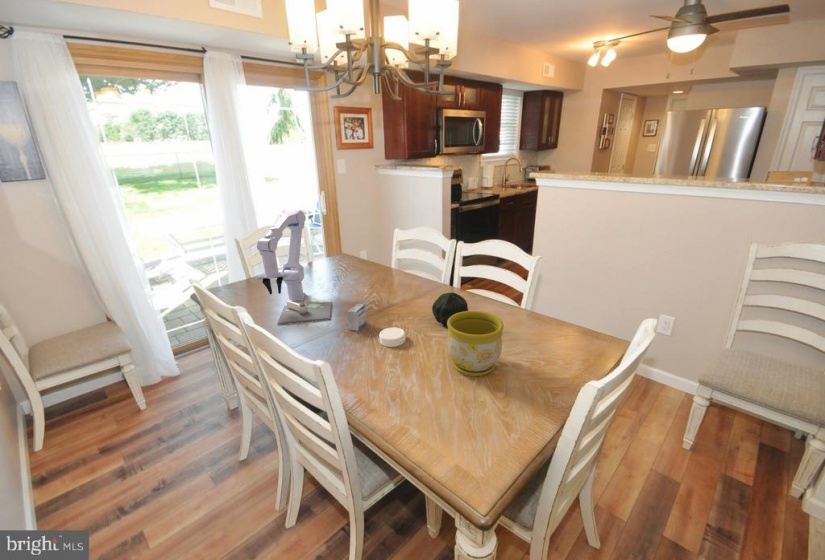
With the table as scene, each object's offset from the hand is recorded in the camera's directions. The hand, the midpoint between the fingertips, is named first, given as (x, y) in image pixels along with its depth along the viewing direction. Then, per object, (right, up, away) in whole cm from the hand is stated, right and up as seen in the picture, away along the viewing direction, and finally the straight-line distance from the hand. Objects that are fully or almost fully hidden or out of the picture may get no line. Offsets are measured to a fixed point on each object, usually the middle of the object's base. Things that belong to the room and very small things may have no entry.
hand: (275, 293), depth 165 cm
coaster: (+55, -18, -25) cm, 63 cm away
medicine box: (+40, -14, -13) cm, 44 cm away
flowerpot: (+83, -23, -42) cm, 96 cm away
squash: (+79, -12, -12) cm, 81 cm away
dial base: (+14, -9, +1) cm, 17 cm away
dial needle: (+9, -8, +1) cm, 12 cm away
